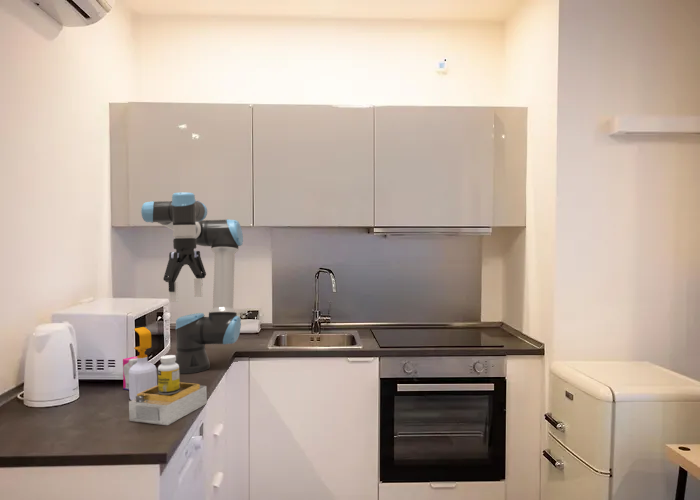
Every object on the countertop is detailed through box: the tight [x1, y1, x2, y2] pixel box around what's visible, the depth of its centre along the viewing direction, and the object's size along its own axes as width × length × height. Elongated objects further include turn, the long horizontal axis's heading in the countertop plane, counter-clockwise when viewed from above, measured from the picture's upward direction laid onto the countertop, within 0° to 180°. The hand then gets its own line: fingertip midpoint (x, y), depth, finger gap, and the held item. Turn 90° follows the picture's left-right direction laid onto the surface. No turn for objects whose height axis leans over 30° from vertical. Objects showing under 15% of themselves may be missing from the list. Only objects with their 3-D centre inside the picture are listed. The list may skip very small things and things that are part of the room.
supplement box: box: [122, 355, 138, 391], centre depth 186 cm, size 6×6×12 cm
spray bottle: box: [128, 326, 158, 401], centre depth 175 cm, size 9×9×25 cm
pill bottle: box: [157, 354, 181, 395], centre depth 160 cm, size 6×6×12 cm
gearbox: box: [128, 381, 208, 426], centre depth 160 cm, size 20×14×8 cm
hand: (186, 299), depth 172 cm, fingers open, 13 cm apart
